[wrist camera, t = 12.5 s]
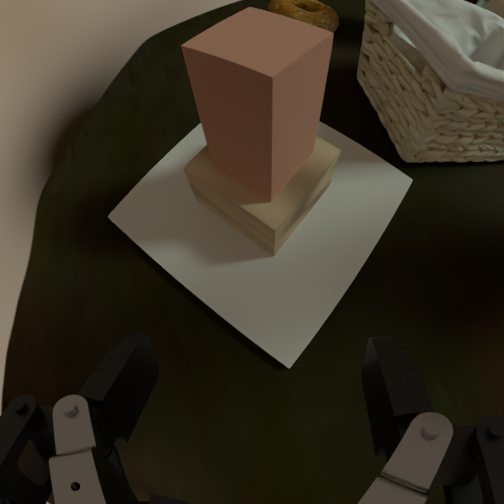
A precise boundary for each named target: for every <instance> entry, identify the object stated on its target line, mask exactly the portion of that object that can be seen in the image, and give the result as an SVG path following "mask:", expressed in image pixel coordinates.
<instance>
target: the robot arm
mask: <svg viewBox="0 0 504 504" xmlns="http://www.w3.org/2000/svg"><path fill="white" fill-rule="evenodd" d="M158 375H159V366H158V363H157V359H156V356H155V353H154V350H153V347H152V344H151V340H150V338H149V336H147V335H141V334H131V333H129V334H127V335H126V337H125V338H124V340H123V341H122V342H121V344H120V345H116V346H114V347H113V348H112V349H110V350H109V351H108V352H106V354H105V355H104V357H103V358H102V359H101V362H100V363H99V364H98V365H97V366H96V368H95V370H93V372H92V373H91V375H90V376H89V378H88V379H87V380H86V382H85V383H84V385H83V386H82V388H81V389H80V390H79V392H78V393H77V395H69V396H66V397H64V398H62V399H60V400H59V401H58V402H57V403H56V404H55V406H39V405H38V404H37V402H36V401H35V399H34V398H33V397H32V396H30V395H21V396H18V397H16V398H15V399H13V400H12V401H11V402H10V403H9V405H8V406H7V408H6V409H5V410H4V412H3V413H2V415H1V416H0V504H46V502H47V500H48V498H49V495H50V493H51V491H52V489H53V493H54V499H55V504H190V503H188V502H185V501H181V500H176V499H171V498H167V497H163V496H158V495H154V494H151V497H150V500H149V501H140V502H139V501H138V500H137V498H136V496H135V495H134V493H133V492H132V490H131V488H130V486H129V483H128V481H127V478H126V475H125V472H124V469H123V466H122V464H121V460H120V457H119V454H118V451H117V448H116V447H115V445H114V442H115V440H119V441H122V442H126V443H127V442H128V440H129V437H130V435H131V433H132V431H133V429H134V427H135V425H136V423H137V421H138V419H139V416H140V414H141V412H142V410H143V408H144V406H145V404H146V402H147V400H148V398H149V396H150V394H151V392H152V390H153V388H154V386H155V384H156V381H157V379H158ZM362 386H363V391H364V395H365V400H366V405H367V410H368V416H369V421H370V426H371V432H372V438H373V443H374V449H375V456H376V457H381V456H386V461H387V464H386V466H385V467H384V469H383V470H382V472H381V473H380V474H379V475H378V477H377V478H376V480H375V481H374V482H373V484H372V485H371V487H370V488H369V489H368V491H367V492H366V493H365V495H364V496H363V497H362V499H361V500H360V501H359V503H358V504H424V503H425V501H426V499H427V497H428V494H429V493H428V492H427V491H428V489H429V486H430V485H443V488H444V493H445V500H446V504H504V418H503V417H501V416H498V415H489V416H486V417H484V418H483V419H481V420H480V422H479V423H478V425H477V426H456V425H452V424H451V423H450V421H449V420H448V419H447V418H446V417H445V416H443V415H441V414H439V413H435V411H434V409H433V406H432V404H431V401H430V399H429V396H428V393H427V391H426V388H425V386H424V383H423V381H422V379H421V376H420V374H419V371H418V370H417V366H416V364H415V362H414V359H413V357H412V356H411V355H409V354H408V353H407V352H406V351H405V350H404V349H395V346H394V344H393V341H392V339H391V337H390V336H382V337H370V338H369V339H368V342H367V348H366V353H365V358H364V363H363V368H362ZM28 442H29V443H30V444H31V446H32V447H33V449H32V451H31V453H30V455H29V457H28V458H27V460H26V462H25V464H24V466H23V468H22V469H21V471H20V470H19V469H18V465H17V462H18V459H19V457H20V455H21V453H22V452H23V450H24V448H25V446H26V445H27V443H28Z"/></svg>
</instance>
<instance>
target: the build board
mask: <svg viewBox="0 0 504 504" xmlns="http://www.w3.org/2000/svg"><path fill="white" fill-rule="evenodd" d="M316 136H317V137H319V138H321V139H323V140H324V141H326V142H328V143H330V144H331V145H333V146H335V147H336V148H338V149H340V150H341V152H340V155H339V158H338V161H337V164H336V167H335V171H334V174H333V177H332V180H331V183H330V186H329V187H328V188H327V190H326V191H325V192H324V193H323V195H322V196H321V197H320V199H319V200H318V201H317V202H316V204H315V205H314V206H313V208H312V209H311V210H310V211H309V213H308V214H307V215H306V217H305V218H304V219H303V220H302V222H301V223H300V224H299V225H298V227H297V228H296V229H295V231H294V232H293V233H292V234H291V236H290V237H289V238H288V239H287V241H286V242H285V243H284V244H283V246H282V247H281V248H280V249H279V251H278V252H277V253H276V254H275V256H272V255H271V254H270V253H268V252H267V251H266V250H264V249H263V248H261V247H260V246H259V245H257V244H256V243H254V242H253V241H252V240H250V239H249V238H247V237H246V236H245V235H243V234H242V233H241V232H239V231H238V230H236V229H235V228H234V227H232V226H231V225H229V224H228V223H227V222H225V221H224V220H222V219H221V218H220V217H218V216H217V215H215V214H214V213H213V212H211V211H210V210H208V209H207V208H206V207H204V206H203V205H201V204H200V203H199V202H197V200H196V198H195V195H194V193H193V191H192V188H191V186H190V184H189V181H188V179H187V177H186V174H185V172H184V169H183V167H184V166H185V165H186V164H187V163H188V162H189V161H190V160H191V159H192V158H194V157H195V156H196V155H197V154H198V153H199V152H200V151H201V150H202V149H203V148H204V147H205V146H206V145H207V143H206V139H205V135H204V132H203V128H202V124H201V123H200V124H199V125H198V126H197V127H196V128H195V129H193V130H192V131H191V132H190V133H189V134H188V135H187V136H186V137H185V138H184V139H182V140H181V141H180V142H179V143H178V144H177V145H176V146H175V147H174V148H173V149H172V150H171V151H170V152H169V153H168V154H167V155H166V156H165V157H163V158H162V159H161V160H160V161H159V162H158V163H157V164H156V165H155V166H154V167H153V168H152V169H151V170H150V171H149V172H148V173H147V174H146V175H145V176H144V177H143V179H142V180H141V181H140V182H139V183H138V184H137V185H136V186H135V187H134V188H133V189H132V190H131V191H130V192H129V193H128V194H127V195H126V197H125V198H124V199H123V200H122V201H121V202H120V203H119V204H118V205H117V206H116V208H115V209H114V210H113V211H112V212H111V213H110V214H109V215H108V218H109V219H110V220H111V221H112V222H113V223H114V224H116V225H117V226H118V227H119V228H120V229H121V230H122V231H123V232H124V233H125V234H126V235H127V236H128V237H129V238H131V239H132V240H133V241H134V242H135V243H136V244H137V245H138V246H139V247H140V248H142V249H143V250H144V251H145V252H146V253H147V254H148V255H149V256H150V257H152V258H153V259H154V260H155V261H156V262H157V263H158V264H159V265H161V266H162V267H163V268H164V269H165V270H166V271H167V272H169V273H170V274H171V275H172V276H173V277H174V278H176V279H177V280H178V281H179V282H180V283H181V284H183V285H184V286H185V287H186V288H187V289H188V290H190V291H191V292H192V293H193V294H194V295H196V296H197V297H198V298H199V299H200V300H202V301H203V302H204V303H205V304H206V305H208V306H209V307H210V308H211V309H213V310H214V311H215V312H216V313H217V314H219V315H220V316H221V317H222V318H224V319H225V320H226V321H227V322H229V323H230V324H231V325H232V326H234V327H235V328H236V329H237V330H239V331H240V332H241V333H243V334H244V335H245V336H246V337H248V338H249V339H250V340H252V341H253V342H254V343H255V344H257V345H258V346H259V347H261V348H262V349H263V350H265V351H266V352H267V353H269V354H270V355H271V356H273V357H274V358H275V359H277V360H278V361H279V362H281V363H282V364H283V365H285V366H286V367H287V368H290V367H291V366H292V365H293V363H294V362H295V361H296V360H297V358H298V357H299V356H300V354H301V353H302V352H303V350H304V349H305V348H306V346H307V345H308V344H309V342H310V341H311V340H312V338H313V337H314V336H315V334H316V333H317V332H318V330H319V329H320V328H321V326H322V325H323V323H324V322H325V321H326V319H327V318H328V316H329V315H330V314H331V312H332V311H333V309H334V308H335V306H336V305H337V304H338V302H339V301H340V299H341V298H342V296H343V295H344V293H345V292H346V290H347V289H348V287H349V286H350V284H351V283H352V281H353V280H354V278H355V277H356V275H357V274H358V272H359V271H360V269H361V268H362V266H363V264H364V263H365V261H366V260H367V258H368V257H369V255H370V253H371V252H372V250H373V249H374V247H375V245H376V244H377V242H378V240H379V239H380V237H381V235H382V234H383V232H384V230H385V229H386V227H387V225H388V224H389V222H390V220H391V219H392V217H393V215H394V213H395V212H396V210H397V208H398V206H399V205H400V203H401V201H402V199H403V197H404V196H405V194H406V192H407V190H408V188H409V186H410V185H411V183H412V181H413V180H412V179H411V178H409V177H408V176H407V175H405V174H404V173H402V172H401V171H399V170H398V169H397V168H395V167H394V166H392V165H391V164H389V163H388V162H386V161H385V160H383V159H382V158H380V157H379V156H377V155H376V154H374V153H372V152H371V151H369V150H368V149H366V148H364V147H363V146H361V145H360V144H358V143H356V142H355V141H353V140H351V139H350V138H348V137H346V136H345V135H343V134H341V133H340V132H338V131H336V130H334V129H333V128H331V127H329V126H327V125H325V124H324V123H322V122H320V121H319V124H318V130H317V135H316Z"/></svg>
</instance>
